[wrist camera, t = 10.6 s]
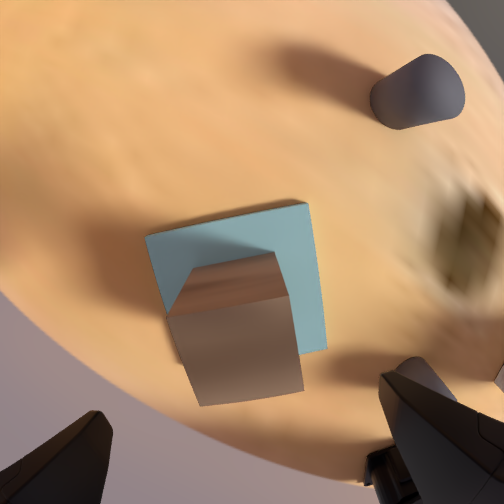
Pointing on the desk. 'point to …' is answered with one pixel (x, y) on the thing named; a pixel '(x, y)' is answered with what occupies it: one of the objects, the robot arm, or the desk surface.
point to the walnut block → (237, 331)
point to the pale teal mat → (246, 245)
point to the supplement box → (500, 379)
